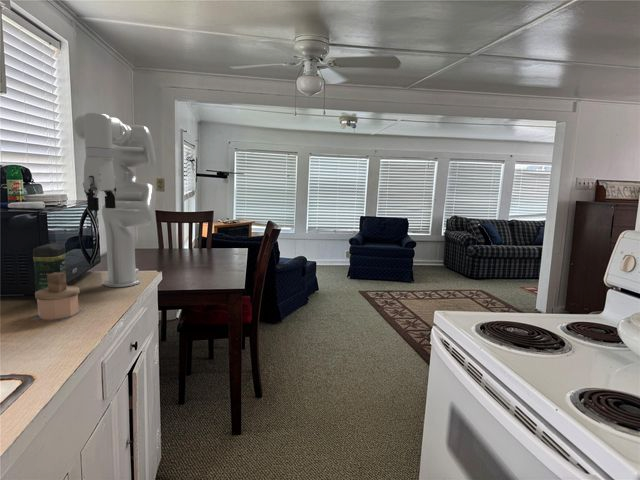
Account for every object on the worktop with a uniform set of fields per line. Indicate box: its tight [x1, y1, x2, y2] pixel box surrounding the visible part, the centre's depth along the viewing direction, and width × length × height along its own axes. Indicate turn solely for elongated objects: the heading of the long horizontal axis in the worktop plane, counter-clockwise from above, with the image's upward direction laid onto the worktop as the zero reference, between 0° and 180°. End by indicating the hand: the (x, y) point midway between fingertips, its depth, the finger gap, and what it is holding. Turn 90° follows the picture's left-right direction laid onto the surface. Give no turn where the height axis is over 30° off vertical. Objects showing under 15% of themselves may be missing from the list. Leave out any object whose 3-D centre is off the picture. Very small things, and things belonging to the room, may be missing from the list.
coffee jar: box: [32, 242, 68, 302], centre depth 130 cm, size 10×8×19 cm
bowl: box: [36, 294, 79, 320], centre depth 116 cm, size 9×9×6 cm
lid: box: [34, 272, 80, 300], centre depth 116 cm, size 11×11×6 cm
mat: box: [29, 309, 86, 322], centre depth 117 cm, size 10×10×1 cm
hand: (102, 209), depth 127 cm, fingers open, 9 cm apart
